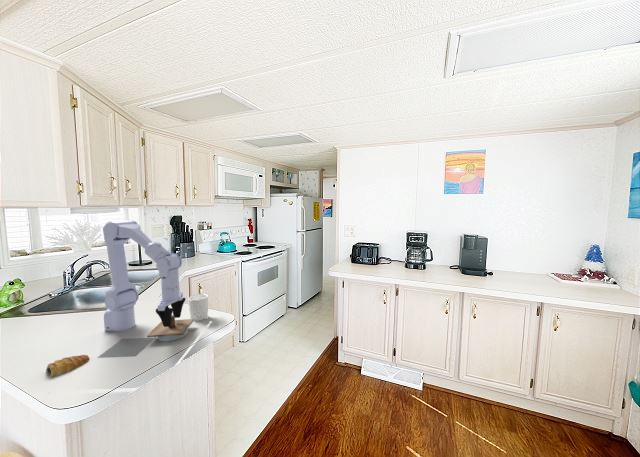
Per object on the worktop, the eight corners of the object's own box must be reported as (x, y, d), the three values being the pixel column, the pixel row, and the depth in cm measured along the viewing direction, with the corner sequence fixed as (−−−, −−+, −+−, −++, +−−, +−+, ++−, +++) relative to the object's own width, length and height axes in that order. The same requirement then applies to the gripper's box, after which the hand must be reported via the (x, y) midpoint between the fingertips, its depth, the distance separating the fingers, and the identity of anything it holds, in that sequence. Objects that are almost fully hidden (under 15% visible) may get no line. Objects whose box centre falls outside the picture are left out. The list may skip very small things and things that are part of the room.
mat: (97, 360, 83) (96, 357, 83) (122, 340, 95) (122, 338, 95) (135, 358, 84) (135, 356, 84) (156, 339, 96) (156, 337, 95)
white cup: (201, 323, 108) (200, 300, 108) (185, 322, 110) (184, 299, 109) (212, 316, 116) (212, 294, 115) (197, 314, 118) (196, 293, 117)
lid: (146, 337, 91) (146, 325, 90) (162, 322, 103) (161, 311, 102) (183, 334, 93) (182, 322, 92) (193, 320, 104) (193, 309, 104)
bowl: (151, 343, 93) (151, 335, 92) (166, 330, 102) (166, 322, 102) (180, 342, 93) (180, 334, 93) (192, 329, 103) (191, 321, 103)
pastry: (85, 358, 84) (84, 347, 84) (93, 364, 81) (92, 353, 80) (44, 374, 76) (43, 362, 76) (51, 382, 73) (50, 369, 72)
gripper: (171, 293, 89) (173, 330, 90) (189, 281, 104) (191, 313, 105) (150, 293, 89) (152, 331, 90) (171, 281, 103) (173, 313, 104)
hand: (172, 321), depth 97 cm, fingers open, 7 cm apart
